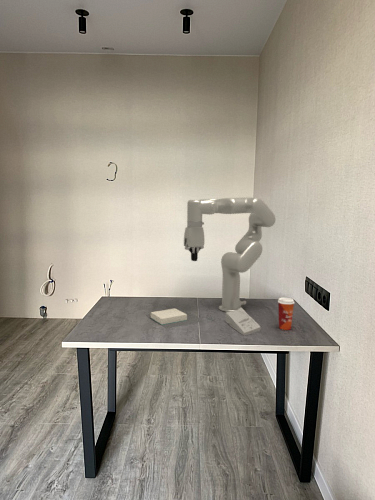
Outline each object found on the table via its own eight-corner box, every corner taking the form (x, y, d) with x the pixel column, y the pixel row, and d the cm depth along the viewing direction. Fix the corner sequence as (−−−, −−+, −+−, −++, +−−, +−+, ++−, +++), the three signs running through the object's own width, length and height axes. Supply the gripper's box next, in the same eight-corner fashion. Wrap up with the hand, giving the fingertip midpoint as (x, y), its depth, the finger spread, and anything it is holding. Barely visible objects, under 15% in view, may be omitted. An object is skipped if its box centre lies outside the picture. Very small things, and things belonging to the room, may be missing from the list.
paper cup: (284, 331, 173) (285, 302, 171) (273, 326, 179) (274, 298, 178) (297, 329, 176) (298, 300, 174) (285, 324, 183) (287, 296, 181)
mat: (182, 310, 204) (182, 309, 204) (205, 321, 186) (205, 320, 186) (146, 316, 193) (146, 315, 193) (165, 329, 174) (165, 328, 174)
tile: (175, 308, 196) (150, 312, 188) (186, 314, 185) (161, 318, 178) (175, 313, 196) (150, 318, 189) (186, 320, 186) (161, 325, 179)
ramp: (263, 337, 167) (263, 325, 166) (227, 336, 168) (228, 324, 167) (254, 317, 195) (254, 307, 194) (223, 316, 195) (224, 306, 195)
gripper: (203, 223, 196) (202, 258, 198) (178, 224, 188) (177, 260, 190) (211, 224, 189) (210, 260, 192) (185, 225, 182) (185, 263, 184)
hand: (194, 260), depth 191 cm, fingers closed
